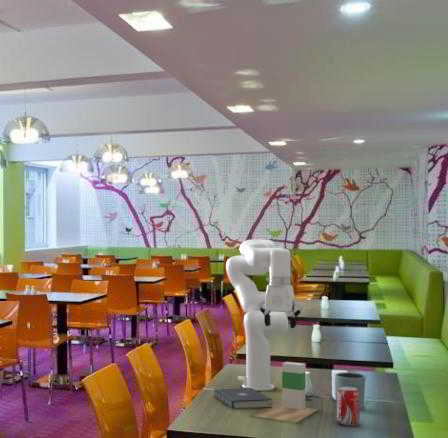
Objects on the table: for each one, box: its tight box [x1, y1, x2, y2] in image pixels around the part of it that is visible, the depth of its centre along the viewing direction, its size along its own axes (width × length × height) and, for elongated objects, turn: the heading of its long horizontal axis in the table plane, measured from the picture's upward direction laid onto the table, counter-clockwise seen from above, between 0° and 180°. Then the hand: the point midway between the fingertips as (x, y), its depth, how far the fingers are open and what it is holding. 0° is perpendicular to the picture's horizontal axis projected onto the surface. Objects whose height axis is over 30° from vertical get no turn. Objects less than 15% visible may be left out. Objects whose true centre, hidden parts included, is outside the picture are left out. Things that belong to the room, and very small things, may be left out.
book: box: [213, 387, 273, 410], centre depth 291 cm, size 22×15×3 cm
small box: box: [331, 369, 349, 401], centre depth 296 cm, size 8×6×10 cm
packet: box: [281, 361, 306, 410], centre depth 281 cm, size 7×16×4 cm
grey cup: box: [336, 371, 367, 411], centre depth 282 cm, size 10×10×12 cm
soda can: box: [336, 386, 360, 427], centre depth 260 cm, size 7×7×12 cm
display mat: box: [251, 403, 318, 423], centre depth 274 cm, size 16×22×1 cm
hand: (280, 326), depth 292 cm, fingers open, 9 cm apart
